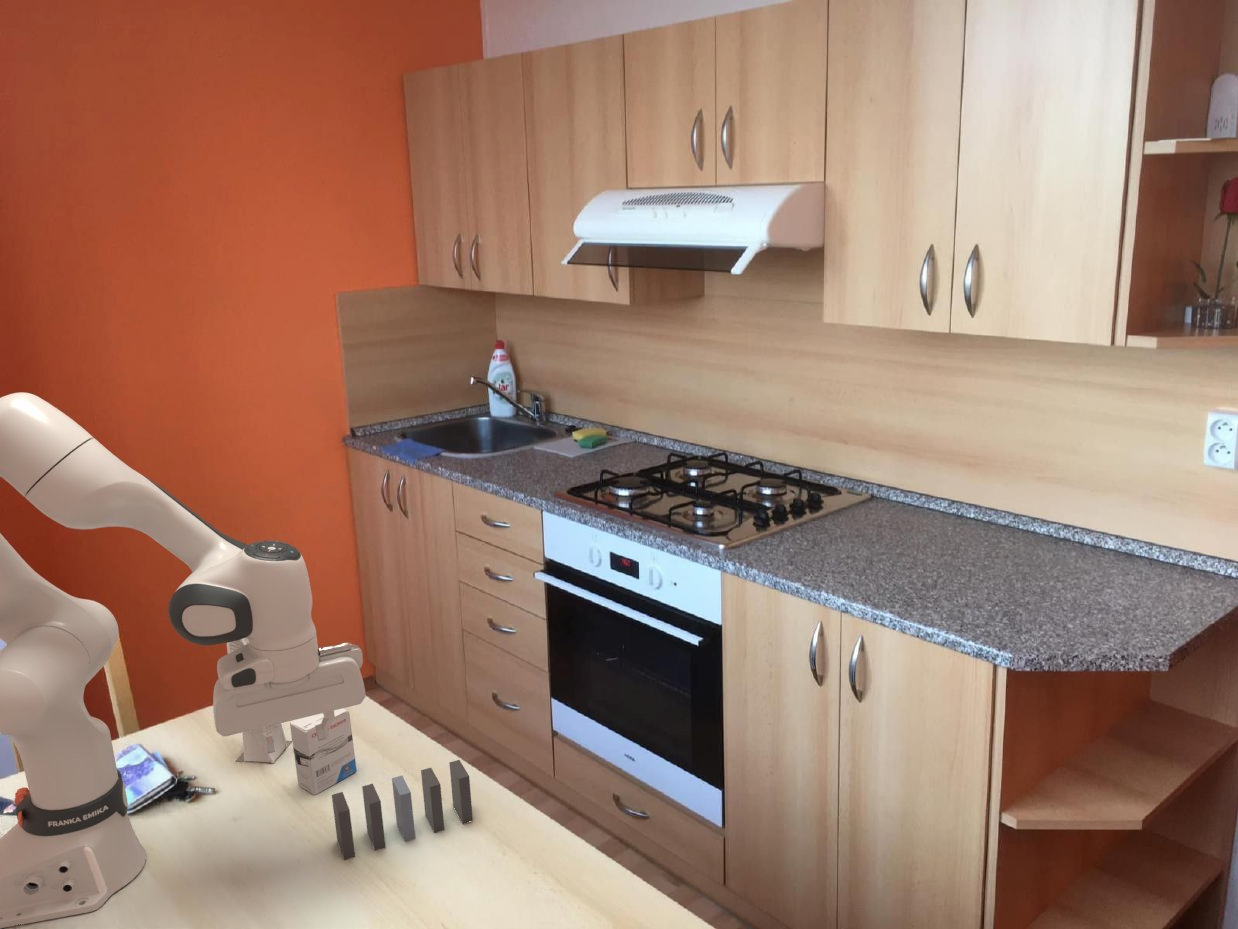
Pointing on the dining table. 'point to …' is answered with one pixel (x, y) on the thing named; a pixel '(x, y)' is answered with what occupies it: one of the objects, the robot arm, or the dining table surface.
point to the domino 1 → (343, 825)
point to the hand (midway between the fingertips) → (296, 744)
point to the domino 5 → (461, 791)
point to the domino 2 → (373, 817)
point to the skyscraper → (251, 744)
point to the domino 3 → (403, 808)
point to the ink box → (323, 751)
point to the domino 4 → (432, 800)
